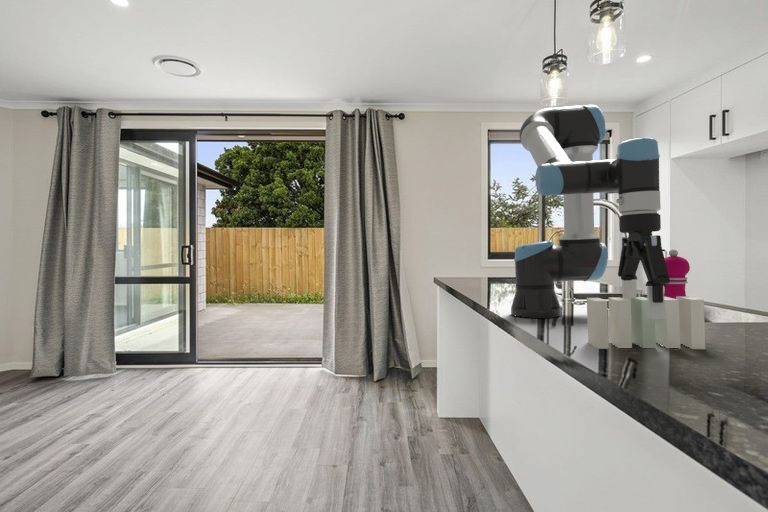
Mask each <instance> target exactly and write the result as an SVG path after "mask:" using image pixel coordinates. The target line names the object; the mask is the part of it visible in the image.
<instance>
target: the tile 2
mask: <svg viewBox="0 0 768 512" xmlns="http://www.w3.org/2000/svg"><path fill="white" fill-rule="evenodd" d="M607 299H608V300H607V301H608V321H609V322H608V323H609V324H608V331H609V343H610V344H611V343H612V344H611V345H612V346H614V345H615V347H616V348H618V349H619V348H632V349H633V343H632V324H631V301H630V300H627V299H624V298H623V297H622V296H620V297H619V296H617V297H615V296H614V297H608V298H607Z"/></svg>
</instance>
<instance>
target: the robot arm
mask: <svg viewBox="0 0 768 512" xmlns="http://www.w3.org/2000/svg"><path fill="white" fill-rule="evenodd" d="M605 132H606V121H605V116H604V113H603V111H602V109H600V107H599V106H597V105H595V104H586V105H585V104H580V105H572V106H571V105H570V106H559V107H547V108H542V109H540V110H538V111H536V112H533V113H532V114H531V115H530V116H528V117H527V118H526V119H525V120H524V122H523V123H522V125H521V127H520V130H519V141H520V143H521V145H522V147H523V149H525V150H526V151H528V152H529V153H530V155H531V157H532V159H533V161H534V163H535V164H536V167H537V168H536V171H535V186H536V187H535V188H536V192H537V193H538V194H539V195H541V196H552V197H554V196H555V197H556V196H562V197H563V227H564V228H563V230H564V232H563V234H562V235H561V236H560V237H559V240H558V243H559V244H554V241H553V240H545V241H539V242H533V243H532V242H531V243H527V244H526V243H525V244H522V245H518V246H517V247H516V248H515V250H514V266H515V267H514V270H515V293H514V296H513V300H512V303H511V307H510V314H513V315H516V316H522V317H521V318H524V317H529V318H528V319H551V318H558V316H559V317H561V316H562V306H561V304H560V302H559V300H558V296H557V294H556V290H555V282H588V281H598V280H600V278H602V277H603V276H604V274H605V272H606V269H607V266H608V261H609V260H608V257H609V256H608V248H607V245H606V244H605V243H603V242H601V238H600V236H599V235H598V234H597V233H596V232H595V208H594V205H595V204H594V203H595V202H594V201H595V199H594V194H598V193H605V194H611V195H612V194H618V198H617V199H616V200H615V201H616V203H617V204H618V212H619V213H620V214H622V215H620V217H619V218H618V220H619V221H618V223H619V224H618V227H619V229H618V230H619V232H620V233H621V234H622V233H623V234H625V233H626V234H628V236H622V238H621V251H620V258H619V259H620V260H619V264H618V272H617V276H618V277H620V279H621V283H622V284H621V285H622V286H621V287H622V288H621V290H622V298H624V299H627V300H630V301H631V297H638V296H637V295H638V293H637V280H638V277H637V275H636V274H637V272H638V268H639V264H640V263H641V265H642V268H643V271H644V274H645V275H646V276H645V277H646V279H647V281H646V283H645V287H646V295H647V296H646V298H647V307H648V319H665V316H664V286H665V284H666V283H669V282H670V278H669V274H668V270H667V266H666V263H665V259H664V258H665V254H664V251H663V248H662V238H661V235H653V232H659V231H661V229H662V226H661V225H662V224H661V214H660V213H659V211H660V210H661V190H660V154H659V144H658V143H659V142H658V141H657V139H655V138H652V137H640V138H633V139H632V138H631V139H628V140H625V141H622V142H620V143H619V144H618V145H617V149H616V156H615V157H616V158H615V159H602V160H601V159H600V160H593V156H594V153H595V152H596V151H597V150H598V149H599V144H601V143H602V142H603V141H604V139H605V135H606V134H605ZM513 315H512V316H513ZM516 316H515V317H516Z"/></svg>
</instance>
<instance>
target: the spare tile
mask: <svg viewBox="0 0 768 512" xmlns="http://www.w3.org/2000/svg"><path fill="white" fill-rule="evenodd" d="M631 331H632V342H634V343H635V344H637V345H639V346H641V347H643V348H656V349H657V344H656V330H655V319H648V307H647V297H644V296H637V297H631ZM634 343H633V344H634ZM635 344H634V345H635ZM637 345H636V346H637ZM639 346H638V347H639ZM641 347H640V348H641ZM643 348H642V349H643Z"/></svg>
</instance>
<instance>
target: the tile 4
mask: <svg viewBox="0 0 768 512" xmlns="http://www.w3.org/2000/svg"><path fill="white" fill-rule="evenodd" d="M664 316H665V319H655V330H656V343H659V344H661V345H663V346H665V347H666V348H679V349H678V350H681V344H680V318H679V300H678V299H673V298H669V297H664ZM666 348H665V349H666Z"/></svg>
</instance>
